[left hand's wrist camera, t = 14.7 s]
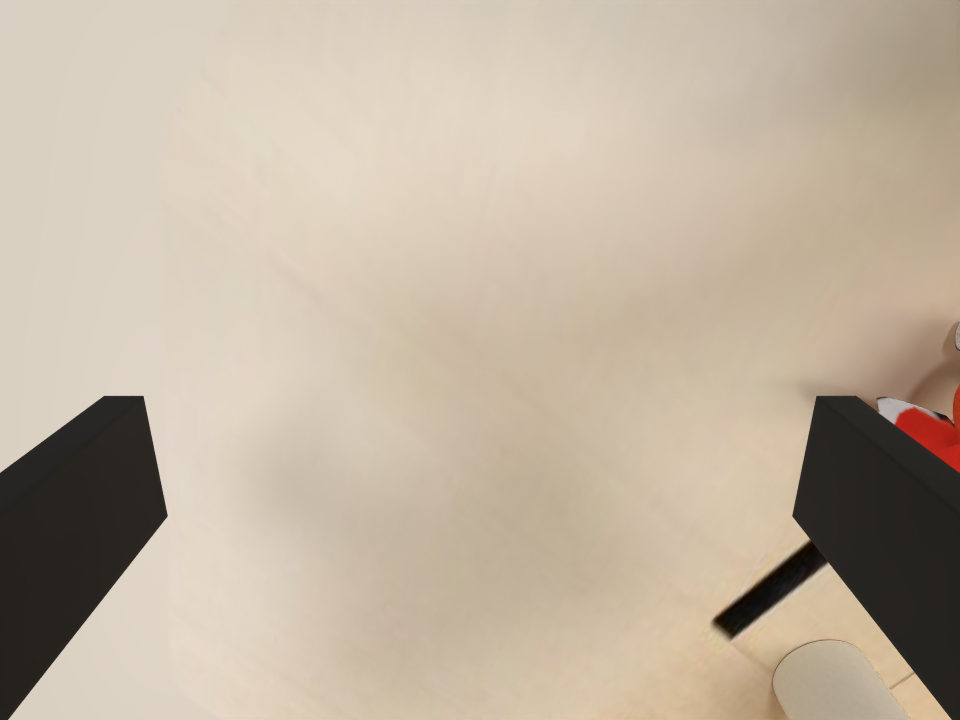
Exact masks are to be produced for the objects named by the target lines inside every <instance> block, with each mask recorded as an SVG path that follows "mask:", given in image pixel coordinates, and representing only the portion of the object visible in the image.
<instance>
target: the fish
mask: <svg viewBox="0 0 960 720" xmlns="http://www.w3.org/2000/svg"><path fill="white" fill-rule="evenodd" d="M955 346H956V348H957V349H958V350H959V351H960V322H959V323H958V326H957V329H956V332H955ZM877 403H878V409H879V412H878V413H880V414H881V415H882V416H884V417H885V418H886V419H888V420H889V421H890V422H892V423H893V424H894V425H896V426H897V427H898V428H900V429H901V430H903V431H904V432H905V433H907V434H908V435H909V436H911V437H912V438H913V439H915V440H916V441H917V442H919V443H920V444H921V445H923V446H924V447H925V448H927V449H928V450H930V451H931V452H932V453H934V454H935V455H936V456H938V457H939V458H940V459H942V460H943V461H944V462H946V463H947V464H948V465H950V466H951V467H952V468H954V469H955V470H957V471H958V472H959V473H960V385H959V386H958V388H957V390H956V393H955V396H954V402H953V419H954V420H950V419H949V418H948V417H947V416H945V415H942V414H940V413H937V412H934V411H931V410H928V409H925V408H922V407H919V406H916V405H913V404H910V403H907V402H904V401H901V400H897V399H892V398H888V397H880V398H877Z"/></svg>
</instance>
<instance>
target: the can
mask: <svg viewBox="0 0 960 720" xmlns="http://www.w3.org/2000/svg"><path fill="white" fill-rule="evenodd" d="M773 688H774V692H775V694H776V696H777V698H778V700H779V702H780V704H781V706H782V708H783V710H784V712H785V714H786V716H787V718H788V720H911V719H910V717H909V716H908V714H907V713H906V712H905V710H904V709H903V707H902V706H901V705H900V703H899V702H898V701H897V699H896V698H895V696H894V695H893V694H892V692H891V691H890V689H889V688H888V687H887V685H886V684H885V683H884V681H883V680H882V678H881V677H880V676H879V674H878V673H877V671H876V670H875V669H874V667H873V666H872V665H871V663H870V662H869V660H868V659H867V658H866V656H865V655H864V654H863V653H862V651H860V650H859V649H858V648H857V647H855V646H853V645H851V644H849V643H846V642H842V641H837V640H822V641H816V642H812V643H809V644H806V645H804V646H801V647H799V648H797V649H796V650H794V651H793V652H791V653H790V654H788V655H787V656H786V657H785V658H784V659H783V660H782V661H781V663H780V664H779V666H778V667H777V669H776V671H775V674H774V677H773Z"/></svg>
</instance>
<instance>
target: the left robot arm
mask: <svg viewBox="0 0 960 720" xmlns="http://www.w3.org/2000/svg"><path fill="white" fill-rule="evenodd" d="M167 516H168V515H167V510H166V505H165V500H164V495H163V491H162V485H161V481H160V476H159V471H158V466H157V461H156V456H155V451H154V446H153V441H152V436H151V431H150V426H149V421H148V416H147V412H146V406H145V401H144V396H103V397H102V398H101V399H99V400H98V401H97V402H95V403H94V404H93V405H91V406H90V407H89V408H87V409H86V410H85V411H83V412H82V413H80V414H79V415H78V416H76V417H75V418H74V419H72V420H71V421H70V422H68V423H67V424H66V425H64V426H63V427H62V428H60V429H59V430H57V431H56V432H55V433H53V434H52V435H51V436H49V437H48V438H47V439H45V440H44V441H43V442H41V443H40V444H39V445H37V446H36V447H35V448H33V449H32V450H30V451H29V452H28V453H26V454H25V455H24V456H22V457H21V458H20V459H18V460H17V461H16V462H14V463H13V464H12V465H10V466H9V467H8V468H6V469H5V470H4V471H2V472H1V473H0V720H8V719H9V718H10V717H11V715H12V714H13V713H14V712H15V710H16V709H17V708H18V706H19V705H20V704H21V703H22V701H23V700H24V699H25V697H26V696H27V695H28V694H29V692H30V691H31V690H32V689H33V687H34V686H35V685H36V683H37V682H38V681H39V680H40V678H41V677H42V676H43V675H44V673H45V672H46V671H47V669H48V668H49V667H50V666H51V664H52V663H53V662H54V661H55V659H56V658H57V657H58V655H59V654H60V653H61V652H62V650H63V649H64V648H65V646H66V645H67V644H68V643H69V641H70V640H71V639H72V638H73V636H74V635H75V634H76V632H77V631H78V630H79V629H80V627H81V626H82V625H83V623H84V622H85V621H86V620H87V618H88V617H89V616H90V615H91V613H92V612H93V611H94V609H95V608H96V607H97V606H98V604H99V603H100V602H101V601H102V599H103V598H104V597H105V595H106V594H107V593H108V592H109V590H110V589H111V588H112V586H113V585H114V584H115V583H116V581H117V580H118V579H119V578H120V576H121V575H122V574H123V573H124V571H125V570H126V569H127V567H128V566H129V565H130V564H131V562H132V561H133V560H134V558H135V557H136V556H137V555H138V553H139V552H140V551H141V549H142V548H143V547H144V546H145V544H146V543H147V542H148V541H149V539H150V538H151V537H152V536H153V534H154V533H155V532H156V530H157V529H158V528H159V527H160V525H161V524H162V523H163V521H164V520H165V519H166V518H167ZM792 516H793V518H794V519H795V520H796V521H797V523H798V524H799V525H800V527H801V528H802V529H803V530H804V532H805V533H806V534H807V536H808V537H809V538H810V539H811V541H812V542H813V543H814V544H815V546H816V547H817V548H818V550H819V551H820V552H821V553H822V555H823V556H824V557H825V558H826V560H827V561H828V562H829V564H830V565H831V566H832V567H833V569H834V570H835V571H836V573H837V574H838V575H839V576H840V578H841V579H842V580H843V581H844V583H845V584H846V585H847V587H848V588H849V589H850V590H851V592H852V593H853V594H854V595H855V597H856V598H857V599H858V601H859V602H860V603H861V604H862V606H863V607H864V608H865V610H866V611H867V612H868V613H869V615H870V616H871V617H872V618H873V620H874V621H875V622H876V624H877V625H878V626H879V627H880V629H881V630H882V631H883V632H884V634H885V635H886V636H887V638H888V639H889V640H890V641H891V643H892V644H893V645H894V647H895V648H896V649H897V650H898V652H899V653H900V654H901V655H902V657H903V658H904V659H905V661H906V662H907V663H908V664H909V666H910V667H911V668H912V669H913V671H914V672H915V673H916V675H917V676H918V677H919V678H920V680H921V681H922V682H923V683H924V685H925V686H926V687H927V689H928V690H929V691H930V692H931V694H932V695H933V696H934V698H935V699H936V700H937V701H938V703H939V704H940V705H941V706H942V708H943V709H944V710H945V712H946V713H947V714H948V715H949V717H950V718H951V719H952V720H960V473H959V472H958V471H957V470H955V469H954V468H952V467H951V466H950V465H948V464H947V463H946V462H944V461H943V460H942V459H940V458H939V457H938V456H936V455H935V454H934V453H932V452H931V451H930V450H928V449H927V448H925V447H924V446H923V445H921V444H920V443H919V442H917V441H916V440H915V439H913V438H912V437H911V436H909V435H908V434H907V433H905V432H904V431H903V430H901V429H900V428H898V427H897V426H896V425H894V424H893V423H892V422H890V421H889V420H888V419H886V418H885V417H884V416H882V415H881V414H880V413H878V412H877V411H875V410H874V409H873V408H871V407H870V406H869V405H867V404H866V403H865V402H863V401H862V400H861V399H859V398H858V397H857V396H816V401H815V406H814V411H813V416H812V421H811V426H810V431H809V436H808V441H807V446H806V451H805V456H804V461H803V466H802V471H801V476H800V480H799V485H798V490H797V495H796V500H795V505H794V510H793V515H792Z"/></svg>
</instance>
